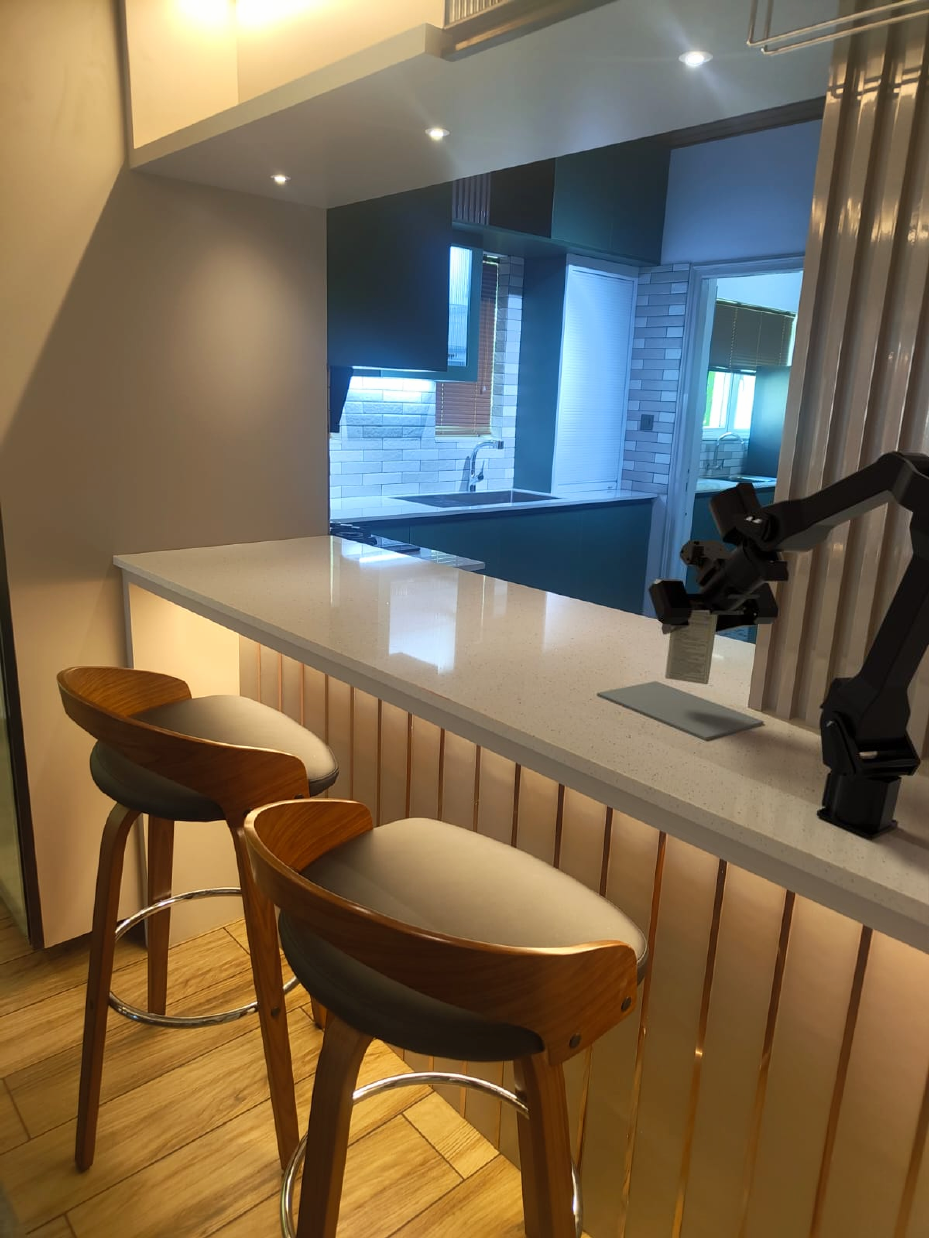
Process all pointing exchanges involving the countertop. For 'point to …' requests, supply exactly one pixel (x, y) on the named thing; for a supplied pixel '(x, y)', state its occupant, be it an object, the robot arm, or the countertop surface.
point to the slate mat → (681, 709)
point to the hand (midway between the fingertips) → (685, 631)
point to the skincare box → (692, 649)
